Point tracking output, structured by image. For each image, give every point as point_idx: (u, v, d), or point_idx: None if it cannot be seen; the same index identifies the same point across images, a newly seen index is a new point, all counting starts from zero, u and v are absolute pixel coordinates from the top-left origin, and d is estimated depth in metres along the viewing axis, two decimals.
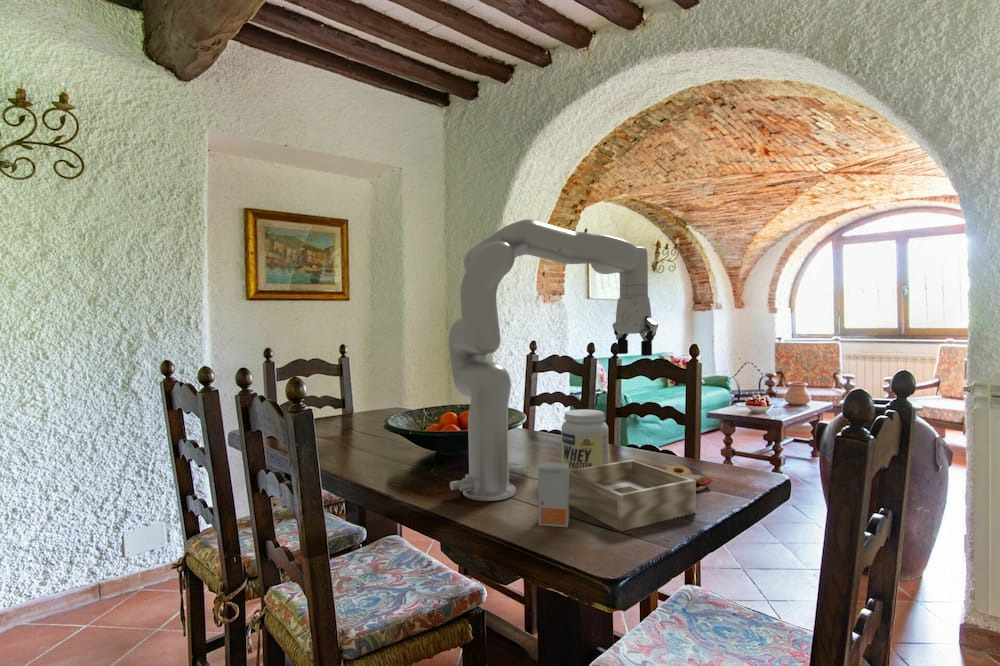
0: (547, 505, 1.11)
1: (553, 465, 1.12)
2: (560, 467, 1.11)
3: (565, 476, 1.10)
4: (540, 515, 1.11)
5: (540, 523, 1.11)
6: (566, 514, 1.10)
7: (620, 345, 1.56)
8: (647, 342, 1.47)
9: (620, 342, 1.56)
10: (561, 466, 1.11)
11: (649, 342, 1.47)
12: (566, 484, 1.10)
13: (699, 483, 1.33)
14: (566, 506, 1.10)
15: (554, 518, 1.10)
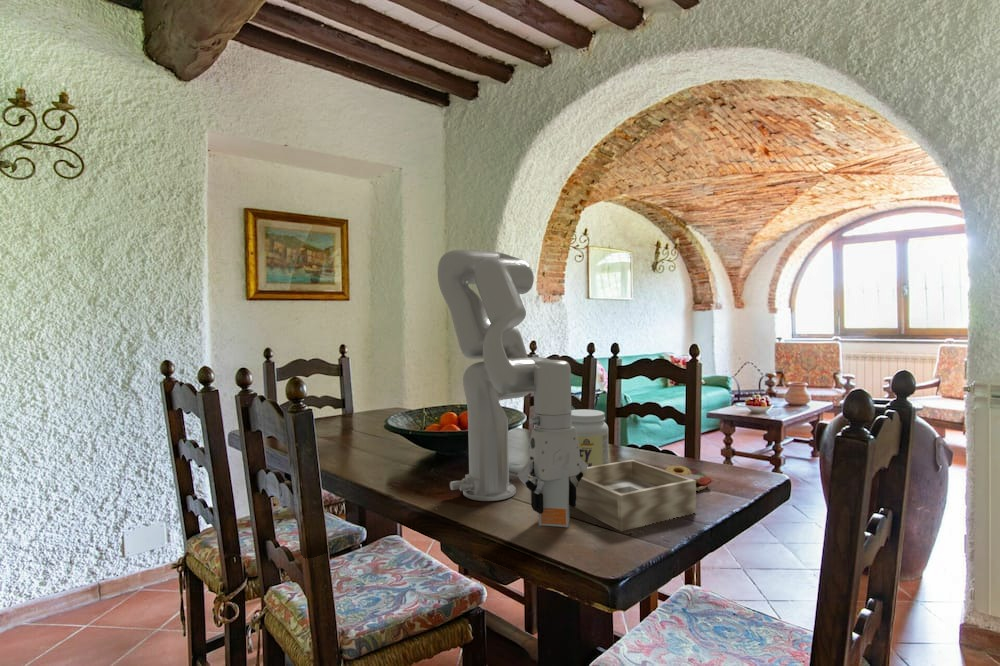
0: (547, 505, 1.11)
1: None
2: None
3: (565, 476, 1.10)
4: (540, 515, 1.11)
5: (540, 523, 1.11)
6: (566, 514, 1.10)
7: None
8: None
9: None
10: None
11: None
12: (566, 484, 1.10)
13: (699, 483, 1.33)
14: (566, 506, 1.10)
15: (554, 518, 1.10)
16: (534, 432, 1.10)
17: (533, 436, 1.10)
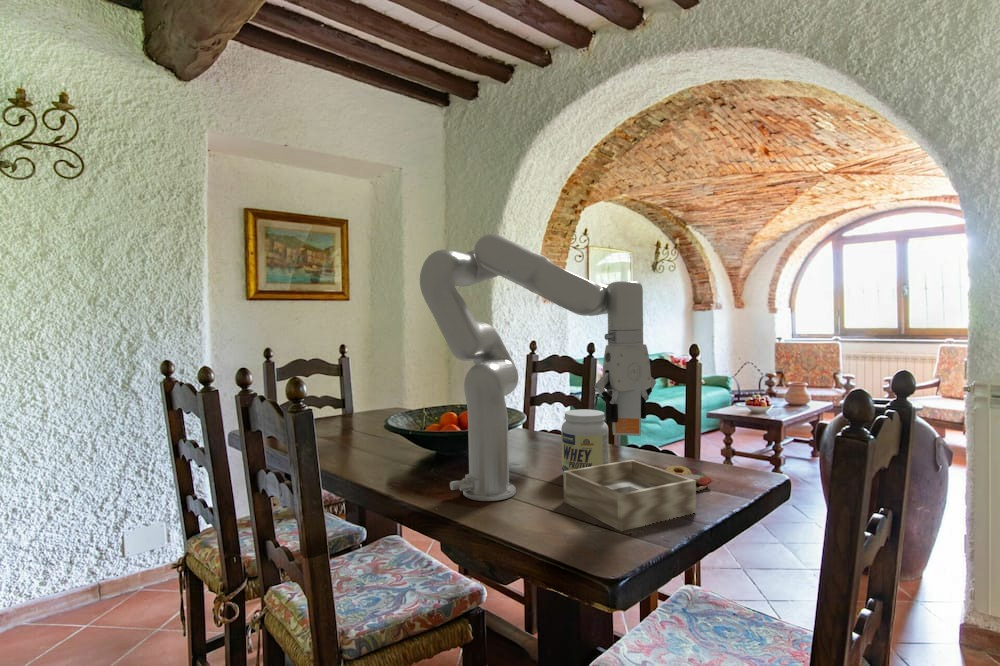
0: (621, 415, 1.19)
1: None
2: None
3: (638, 388, 1.18)
4: (614, 425, 1.19)
5: (614, 432, 1.19)
6: (639, 423, 1.18)
7: None
8: None
9: None
10: None
11: None
12: (639, 395, 1.18)
13: (699, 483, 1.33)
14: (639, 416, 1.18)
15: (628, 428, 1.19)
16: (609, 347, 1.18)
17: (608, 351, 1.18)
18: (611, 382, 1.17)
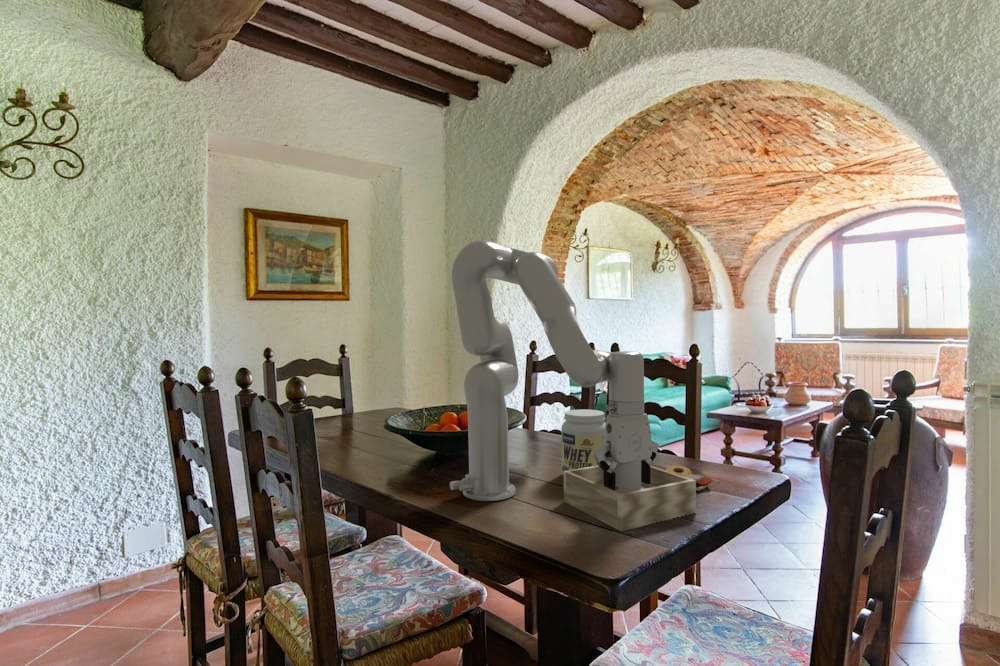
0: (621, 490, 1.19)
1: None
2: None
3: (638, 463, 1.19)
4: None
5: None
6: None
7: None
8: None
9: None
10: None
11: None
12: (640, 470, 1.19)
13: (699, 483, 1.33)
14: None
15: None
16: (610, 418, 1.18)
17: (609, 422, 1.19)
18: (612, 454, 1.17)
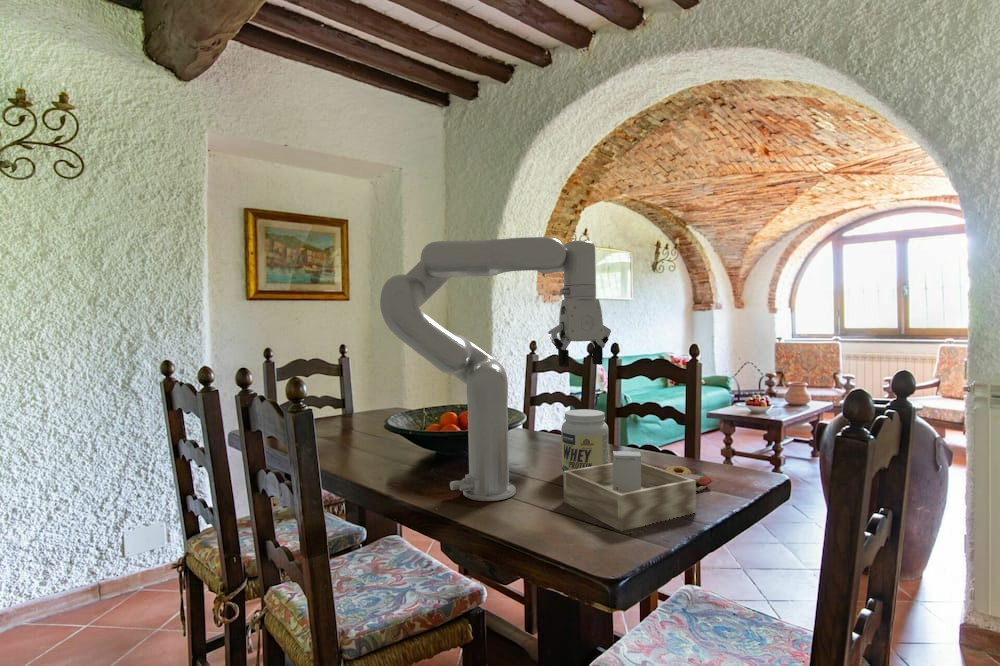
0: (621, 490, 1.19)
1: (626, 453, 1.21)
2: (634, 455, 1.19)
3: (638, 464, 1.18)
4: None
5: None
6: None
7: None
8: None
9: None
10: (634, 454, 1.20)
11: None
12: (640, 471, 1.19)
13: (699, 483, 1.33)
14: None
15: None
16: (564, 300, 1.29)
17: (563, 304, 1.29)
18: (566, 332, 1.28)
